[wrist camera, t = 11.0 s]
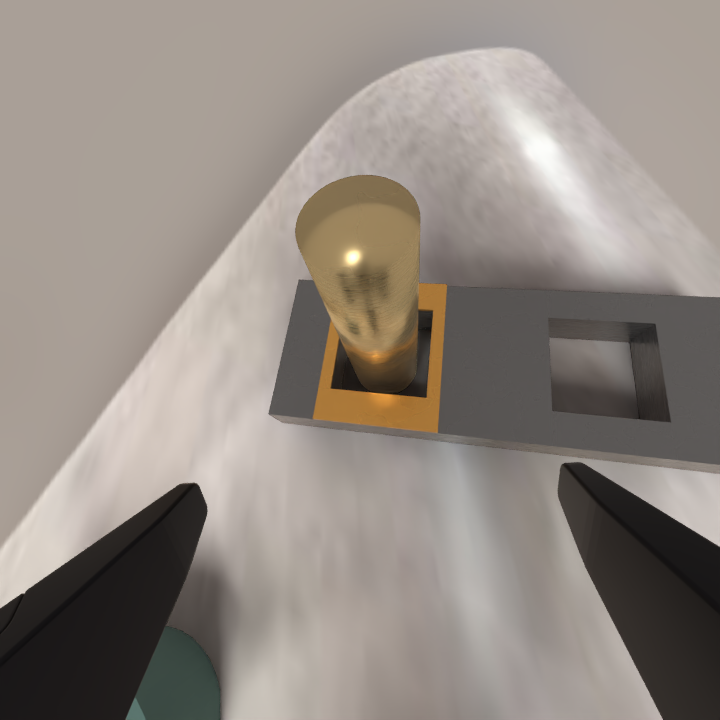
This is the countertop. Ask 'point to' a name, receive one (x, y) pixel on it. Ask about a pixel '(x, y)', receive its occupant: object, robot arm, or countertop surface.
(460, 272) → the countertop surface
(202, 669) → the bracket
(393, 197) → the brass peg
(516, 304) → the hole rail
